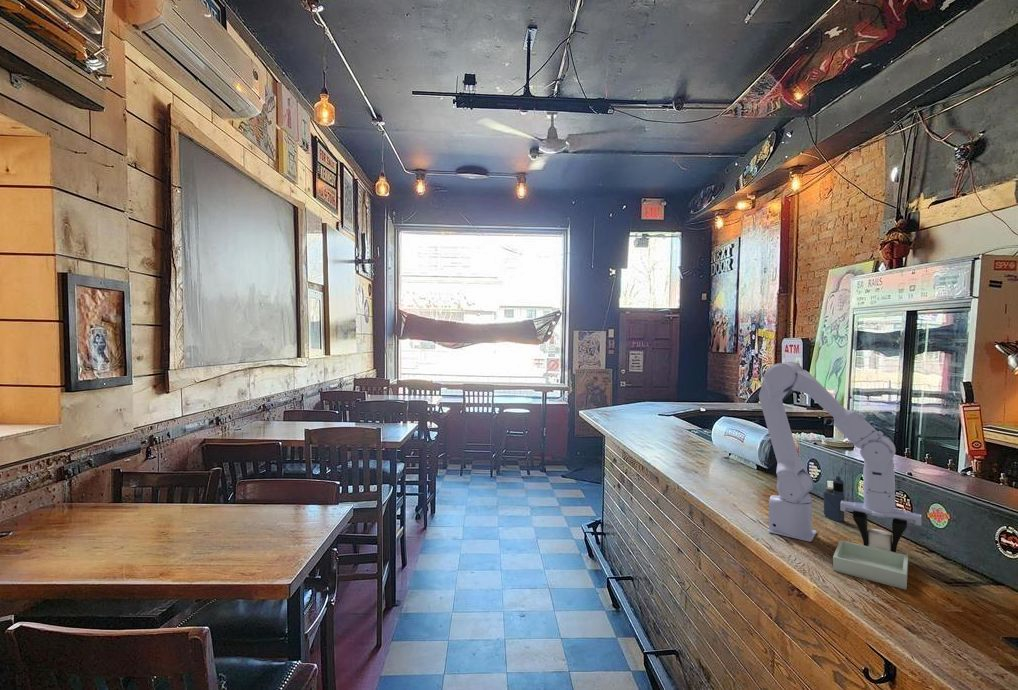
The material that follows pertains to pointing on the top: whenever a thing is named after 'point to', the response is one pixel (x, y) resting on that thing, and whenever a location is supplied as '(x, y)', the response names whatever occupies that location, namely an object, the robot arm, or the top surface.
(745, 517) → the top surface
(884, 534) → the white rounded cylinder
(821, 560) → the top surface
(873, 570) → the bus tub
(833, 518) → the vaping device
